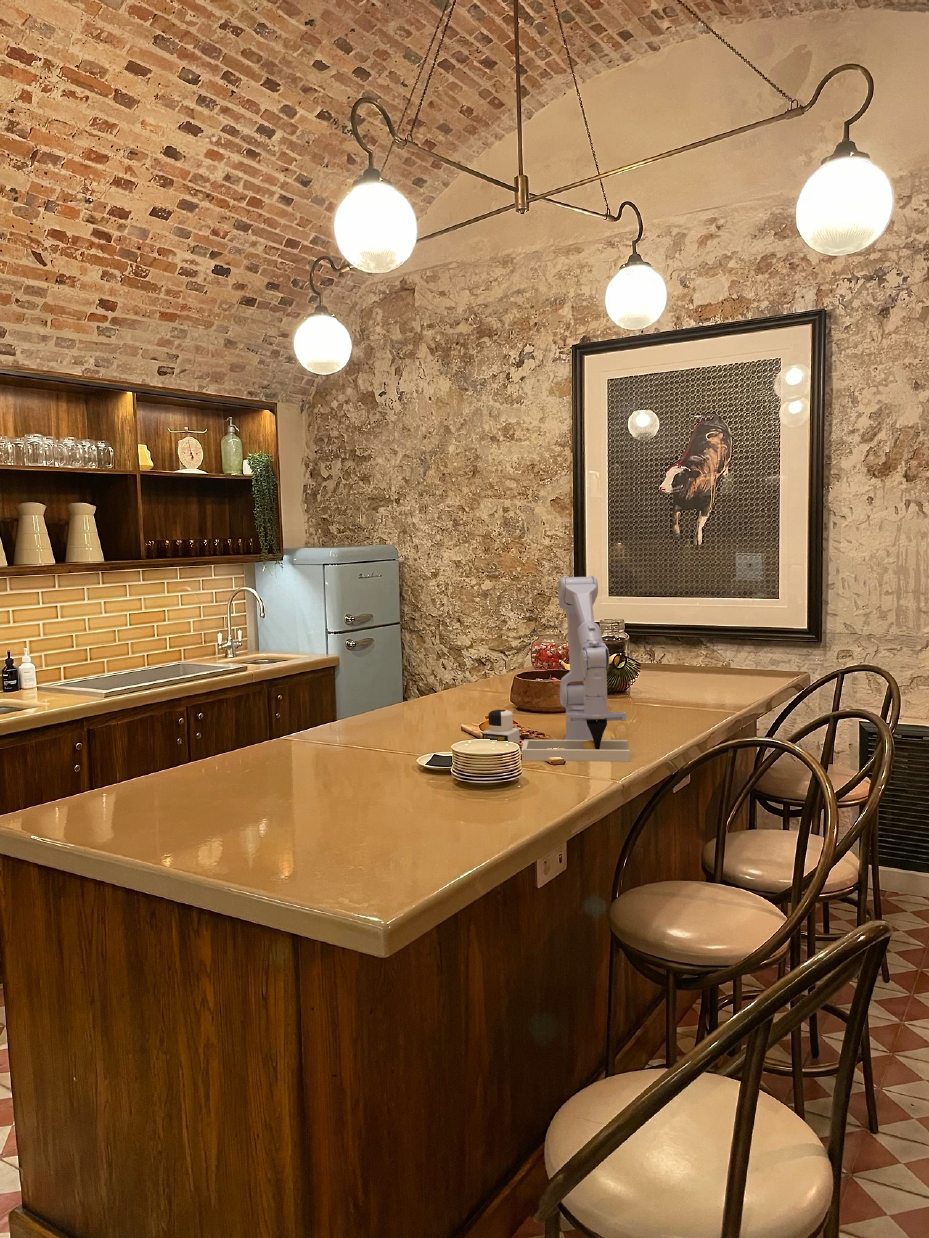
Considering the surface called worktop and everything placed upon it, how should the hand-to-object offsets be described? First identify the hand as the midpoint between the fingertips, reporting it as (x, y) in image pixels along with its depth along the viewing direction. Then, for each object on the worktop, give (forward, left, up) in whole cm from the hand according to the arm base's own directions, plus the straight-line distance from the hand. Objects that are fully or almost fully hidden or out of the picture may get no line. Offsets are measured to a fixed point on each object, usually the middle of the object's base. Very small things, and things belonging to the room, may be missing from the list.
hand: (596, 749), depth 235 cm
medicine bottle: (+1, -24, -2) cm, 24 cm away
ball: (-1, 0, -1) cm, 1 cm away
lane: (-1, -5, -2) cm, 5 cm away
